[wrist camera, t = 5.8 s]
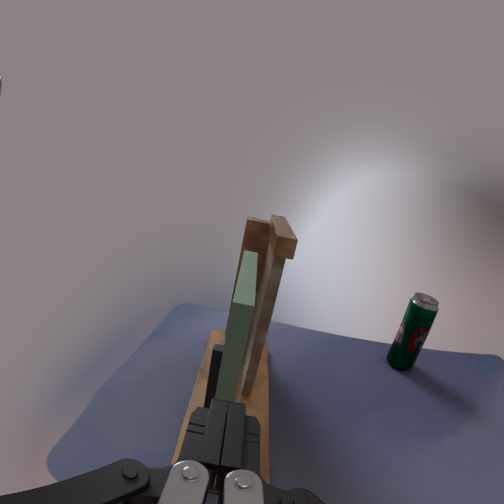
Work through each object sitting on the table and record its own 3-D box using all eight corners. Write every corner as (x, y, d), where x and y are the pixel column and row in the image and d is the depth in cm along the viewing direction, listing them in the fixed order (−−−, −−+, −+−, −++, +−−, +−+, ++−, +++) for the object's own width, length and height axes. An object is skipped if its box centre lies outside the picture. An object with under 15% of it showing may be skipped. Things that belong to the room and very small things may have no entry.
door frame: (167, 482, 17) (177, 260, 12) (210, 337, 40) (233, 205, 36) (265, 498, 17) (361, 295, 12) (265, 347, 41) (296, 217, 36)
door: (195, 455, 19) (219, 299, 15) (213, 378, 29) (236, 248, 26) (218, 460, 19) (255, 306, 15) (230, 381, 29) (258, 252, 26)
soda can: (387, 352, 44) (412, 289, 41) (412, 361, 42) (439, 298, 38) (383, 365, 40) (412, 297, 37) (410, 375, 37) (442, 307, 34)
